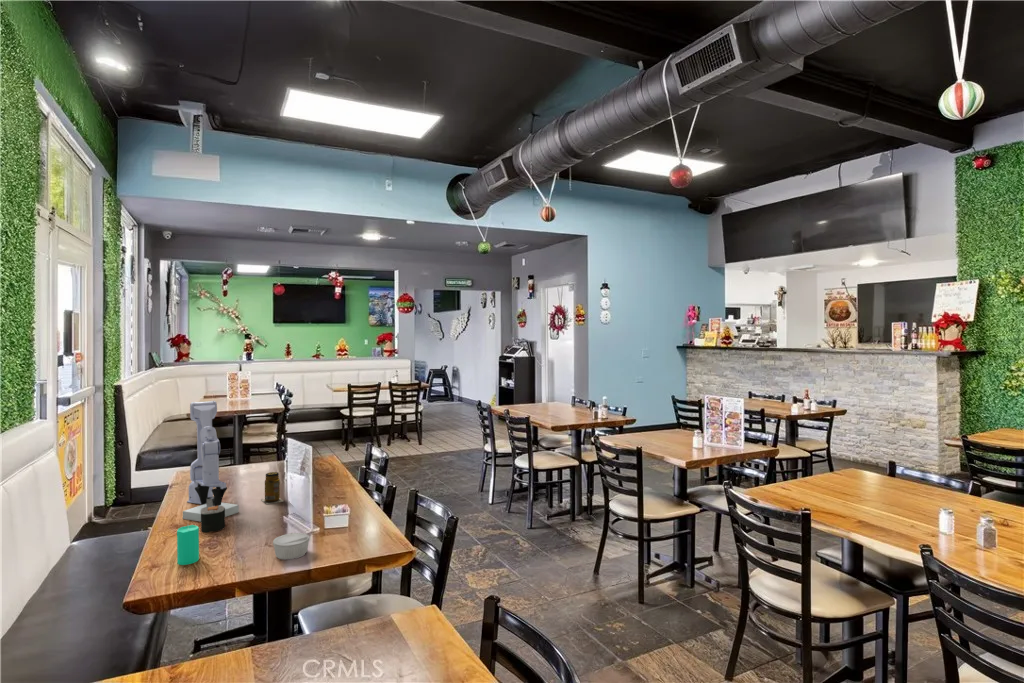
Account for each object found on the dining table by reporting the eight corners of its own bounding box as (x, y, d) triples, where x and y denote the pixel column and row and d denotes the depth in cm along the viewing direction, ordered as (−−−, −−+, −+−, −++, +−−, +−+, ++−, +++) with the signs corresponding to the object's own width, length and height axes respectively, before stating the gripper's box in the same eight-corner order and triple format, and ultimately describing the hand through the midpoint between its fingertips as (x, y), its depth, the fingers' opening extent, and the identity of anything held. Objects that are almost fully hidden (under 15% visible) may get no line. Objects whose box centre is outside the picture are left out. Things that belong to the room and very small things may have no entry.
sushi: (225, 523, 212) (225, 502, 212) (224, 530, 204) (224, 508, 204) (201, 526, 208) (201, 505, 208) (199, 533, 201) (199, 512, 200)
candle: (183, 557, 179) (182, 520, 178) (202, 557, 179) (202, 520, 179) (173, 565, 173) (173, 527, 173) (193, 564, 173) (193, 526, 173)
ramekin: (297, 562, 174) (297, 546, 174) (265, 560, 176) (265, 543, 176) (316, 549, 185) (316, 533, 185) (285, 547, 187) (285, 531, 187)
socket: (182, 518, 217) (182, 511, 217) (213, 508, 230) (213, 501, 230) (208, 522, 212) (208, 515, 212) (238, 512, 225) (238, 504, 225)
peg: (204, 516, 220) (204, 498, 220) (212, 513, 224) (211, 496, 224) (212, 517, 219) (212, 499, 219) (220, 513, 223) (219, 496, 223)
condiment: (278, 497, 246) (278, 470, 246) (284, 501, 240) (283, 474, 240) (260, 500, 242) (260, 473, 242) (266, 504, 235) (266, 476, 235)
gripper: (188, 471, 220) (189, 505, 220) (215, 474, 215) (215, 509, 215) (204, 467, 227) (204, 500, 227) (230, 470, 221) (230, 504, 222)
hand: (211, 504), depth 221 cm, fingers open, 7 cm apart
